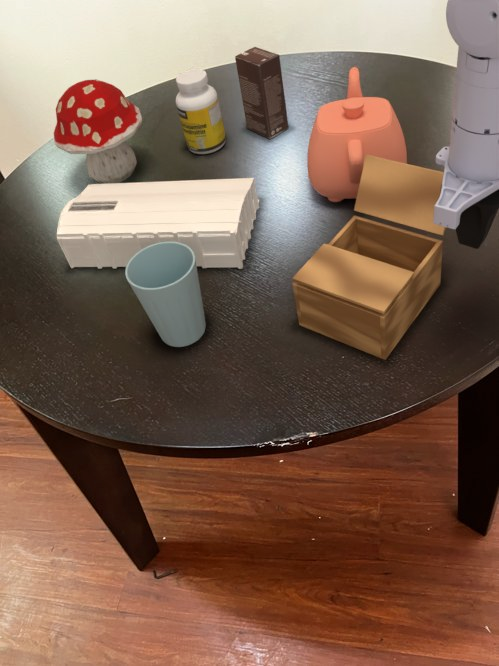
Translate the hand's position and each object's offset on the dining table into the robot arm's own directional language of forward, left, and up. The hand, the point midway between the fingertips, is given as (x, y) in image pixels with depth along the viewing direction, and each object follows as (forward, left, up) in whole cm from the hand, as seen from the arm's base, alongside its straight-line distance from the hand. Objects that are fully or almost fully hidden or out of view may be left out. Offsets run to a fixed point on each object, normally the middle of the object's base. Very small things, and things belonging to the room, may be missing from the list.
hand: (471, 242), depth 63 cm
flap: (+5, -10, 0) cm, 11 cm away
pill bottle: (+30, -45, -11) cm, 55 cm away
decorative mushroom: (+45, -41, -11) cm, 61 cm away
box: (+20, -47, -11) cm, 52 cm away
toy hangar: (+35, -23, -11) cm, 43 cm away
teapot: (+8, -29, -11) cm, 32 cm away
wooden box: (+10, -4, -10) cm, 15 cm away
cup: (+32, -4, -11) cm, 34 cm away
